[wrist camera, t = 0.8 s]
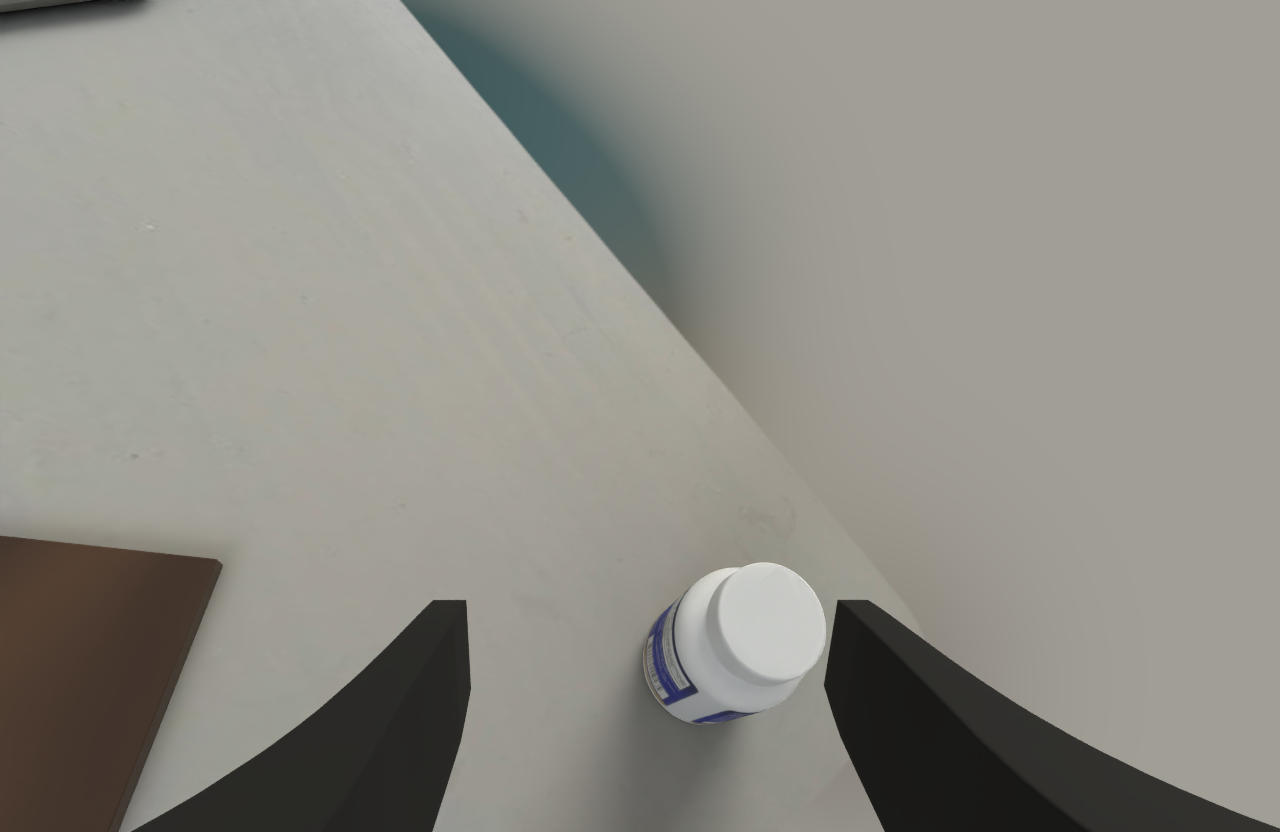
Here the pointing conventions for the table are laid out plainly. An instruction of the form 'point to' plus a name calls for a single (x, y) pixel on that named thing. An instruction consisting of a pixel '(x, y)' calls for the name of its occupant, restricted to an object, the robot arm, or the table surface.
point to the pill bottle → (734, 644)
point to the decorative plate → (31, 4)
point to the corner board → (87, 674)
